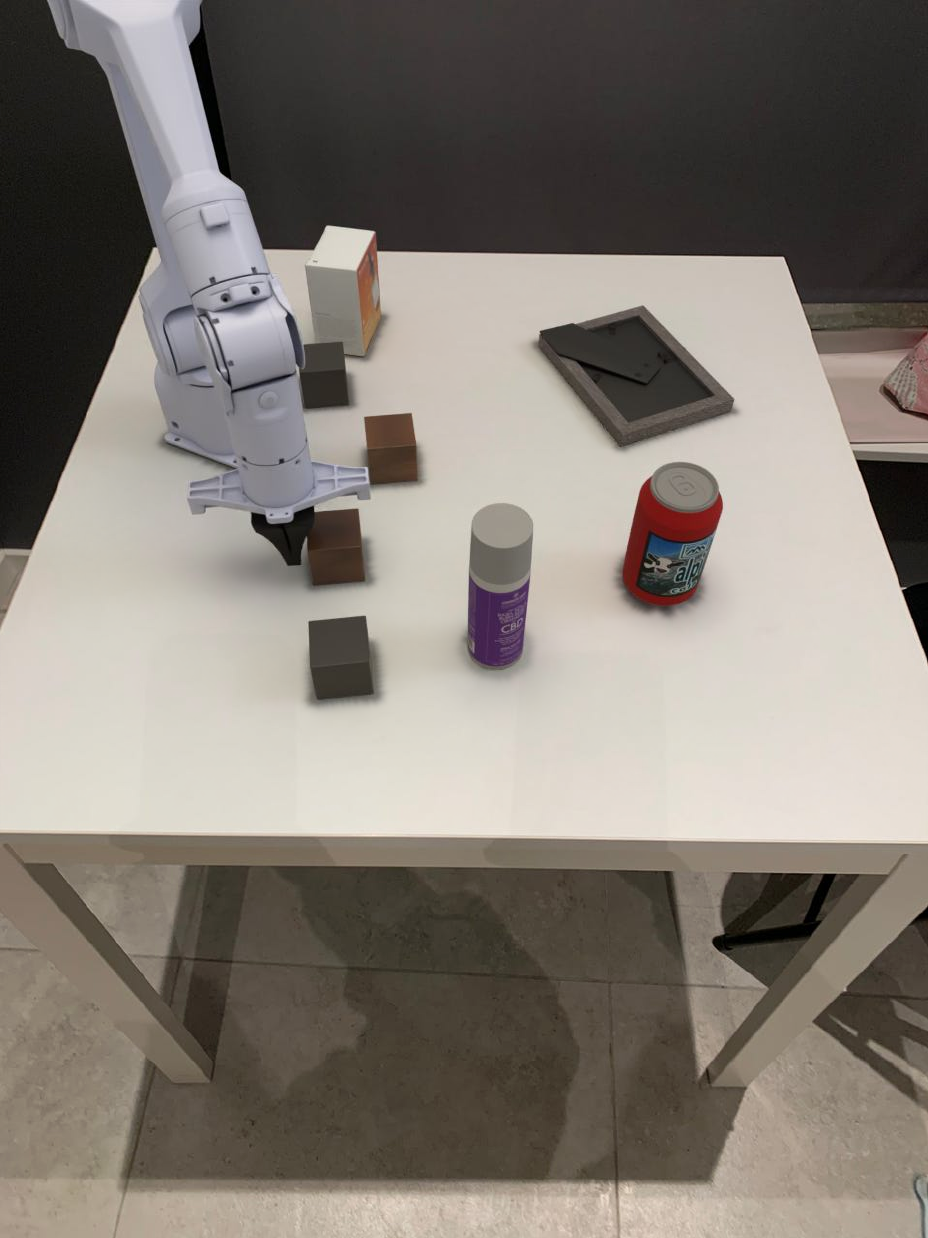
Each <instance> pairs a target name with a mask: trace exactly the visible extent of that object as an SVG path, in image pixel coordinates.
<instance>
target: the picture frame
mask: <svg viewBox="0 0 928 1238" xmlns="http://www.w3.org/2000/svg"><path fill="white" fill-rule="evenodd" d="M538 334H539V335H538V344H537V345H538V348H539V349H540V350H541V351H542V353H543V354H544V355H545V356H546V357H547V359H548V360H549V361H550V362H551V364H552V365H553V366H554V367H555V369H556V370H558V372H559V373H560V375H561V376H562V377H563V378H564V380H566V382H567V383H568V384H569V385H570V387H571V388H572V389H573V390H574V391H575V393H576V394H577V395H578V396H579V398H580V399H581V400H582V402H583V403H584V404H585V405H586V406H587V408H589V410H590V411H591V412H592V413H593V415H594V416H595V417H596V418H597V420H598V421H599V422H600V423H601V424H602V426H603V427H604V428H605V429H606V430H607V432H608V433H609V435H610V436H611V437H612V438H613V439H614V440H615V442H616V443H617V444H618V445H619V447H625V446H627V445H631V444H633V443H637V442H639V441H643V440H645V439H649V438H653V437H655V436H658V435H660V434H665V433H667V432H671V431H674V430H677V429H680V428H683V427H686V426H690V425H692V424H695V423H698V422H699V423H700V422H701V421H705V420H708V419H711V418H714V417H717V416H720V415H724V414H727V413H730V412H732V410H733V406H734V403H735V401H736V400H735V398H734V397H733V395H731V394H730V393H729V392H728V391H727V390H726V389H725V388H724V387H723V385H721V384H720V382H719V381H717V379H716V378H715V377H713V375H711V373H710V372H709V371H708V370H707V369H706V368H705V367H704V366H703V365H702V363H700V362H699V361H698V360H697V359H696V358H695V357H694V355H693V354H692V353H690V351H688V350H687V349H686V347H685V346H684V345H682V343H680V341H679V340H678V339H677V338H676V337H675V336H674V334H672V333H671V332H670V331H669V330H668V329H667V328H666V327H665V326H664V325H663V324H662V323H661V322H660V321H659V320H658V318H656V317H655V315H653V314H652V313H651V311H650V310H649V309H648V308H647V307H645V305H642V304H641V305H639V306H636V307H635V306H634V307H632V308H628V309H625V310H621V311H617V312H614V313H610V314H607V315H604V316H600V317H596V318H593V319H589V320H585V321H581V322H577V323H574V322H570V323H567V324H563V325H559V326H553V327H550V328H545V329H541V330H539V333H538Z"/></svg>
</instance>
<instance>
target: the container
mask: <svg viewBox="0 0 928 1238" xmlns="http://www.w3.org/2000/svg"><path fill="white" fill-rule="evenodd" d="M470 527H471V529H470V545H469V546H470V547H469V563H468V591H467V592H468V593H467V595H468V596H467V597H468V599H467V652H468V655H469V657H470V659H471V660H472V661H473V662H474V663H475V664H477V665H478V666H479V667H482V668H484V669H487V670H491V671H492V670H493V671H497V670H499V671H500V670H505V669H507V668H510V667H512V666H513V665H515V664H516V663H517V662H518V661H519V660H520V658H521V657H522V654H523V649H524V642H525V640H524V639H525V631H526V622H527V613H528V612H527V611H528V601H529V592H530V585H531V584H530V583H531V573H532V557H533V555H532V554H533V539H534V521H533V518H532V517H531V516H530V514H529V513H528V511H526V509H523V507H521V506H518V505H515V504H512V503H509V502H508V503H506V502H497V503H491V504H488V505H486V506H483V507H482V508H480V509H479V510H478V511H477V512H476V513H475V514H474V516H473V517H472V520H471V526H470Z"/></svg>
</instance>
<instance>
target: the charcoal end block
mask: <svg viewBox="0 0 928 1238" xmlns="http://www.w3.org/2000/svg"><path fill="white" fill-rule="evenodd" d="M303 345H304V352H305V368H304V369H300V368H299V367H298V375H299V380H300V386H301V392H302V399H303V404H304V409H312V408H313V409H314V408H325V407H326V408H327V407H337V406H339V407H340V406H349V405H350V398H349V385H348V375H347V367H346V357H345V354H344V348H343V342H330V343H316V342H315V343H303Z"/></svg>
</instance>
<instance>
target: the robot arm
mask: <svg viewBox="0 0 928 1238" xmlns="http://www.w3.org/2000/svg"><path fill="white" fill-rule="evenodd" d="M46 1H47V3H48V4H47V5H48V7H49V8H50V11H51V12H50V13H51V15H52V17H53V18H52V19H53V21H54V25H55V28H56V30H57V33H58V36H59V37H60V38H61V39H62V40H63V41H64V44H65V46H66V48H67V49H71V50H77V51H82V52H84V53H86V54H88V55H91V56H93V57H94V58H95V59H96V61H97V62H98V64H99V65H100V67H101V68H102V70H103V71H104V73H105V76H106V77H107V81H108V84H109V88H110V91H111V94H112V97H113V101H114V105H115V108H116V111H117V114H118V119H119V122H120V125H121V129H122V132H123V135H124V138H125V141H126V145H127V149H128V153H129V156H130V160H131V162H132V167H133V169H134V170H133V171H134V173H135V176H136V180H137V182H138V183H137V184H138V186H139V190H140V193H141V197H142V200H143V204H144V207H145V211H146V214H147V217H148V220H149V224H150V227H151V230H152V235H153V239H154V241H155V244H156V248H157V251H158V255H159V259H160V262H159V264H158V266H157V267H156V268H155V269H154V270H153V271H152V272H151V274H150V275H149V276H148V277H147V278H146V280H144V282H143V283H142V284H141V286H140V287H139V289H138V291H139V295H138V301H139V303H140V307H141V310H142V319H143V322H144V326H145V330H146V332H147V336H148V339H149V342H150V344H151V348H152V350H153V354H154V356H155V358H156V360H157V362H156V364H155V369H154V375H153V377H154V379H153V380H154V381H153V382H154V389H155V392H156V395H157V398H158V401H159V404H160V408H161V410H162V415H163V417H164V419H165V421H164V422H165V424H166V426H167V431H168V432H167V433H165V435H164V441H165V442H166V443H167V444H171V445H173V446H175V447H178V448H181V449H184V450H186V451H189V452H191V453H193V454H197V455H199V456H202V457H204V458H207V459H210V460H213V461H215V462H218V463H220V464H224V465H227V466H229V467H230V468H231V467H232V468H234V469H232V470H229V471H226V472H222V473H219V474H217V475H213V476H210V477H207V478H203V479H197V480H189V481H188V482H187V489H186V490H187V492H186V500H187V502H188V506H189V509H190V513H191V515H193V516H194V515H203V514H206V512H207V509H211V508H226V509H231V510H235V511H237V510H238V511H243V512H247V513H248V512H249V513H250V524H251V526H252V529H253V530H254V532H255V533H256V534H258V535H260V536H262V537H263V538H264V539H266V540H267V541H268V542H269V543H271V545H272V546H274V548H275V549H276V550H277V552H278V553H279V554H280V555H281V557H282V559H283V561H284V562H285V564H286V566H287V567H295V566H301V565H302V554H303V553H302V552H303V547H304V544H305V542H306V540H307V535H308V533H309V531H310V530H311V529H312V527H313V524H314V520H315V512H316V509H315V506H316V505H317V506H318V505H319V504H322V503H326V502H328V501H331V500H334V499H337V498H341V497H353V496H356V498H357V500H358V501H370V500H371V499H372V497H371V484H370V474H369V466H346V465H341V464H333V463H328V462H321V461H317V460H312V457H311V450H310V446H309V445H310V444H309V439H308V433H307V426H306V421H305V413H304V408H303V401H302V395H301V390H300V384H299V383H300V382H299V377H298V372H297V368H298V369H299V368H300V369H304V368H305V352H304V345H303V344H304V340H303V335H302V331H301V328H300V325H299V322H298V319H297V316H296V314H295V311H294V309H293V307H292V305H291V303H290V300H289V299H288V296H287V294H286V292H285V291H284V289H283V285H282V284H281V281H280V278H279V276H278V274H277V273H271V269H270V266H269V264H268V260H267V257H266V254H265V251H264V248H263V244H262V242H261V239H260V235H259V233H258V229H257V227H256V224H255V221H254V218H253V214H252V212H251V208H250V204H249V203H248V199H247V196H246V193H245V191H244V190H243V188H241V187H240V186H239V185H238V184H236V183H235V182H233V180H230V178H228V177H226V176H225V175H224V174H222V173H221V171H220V169H219V164H218V160H217V157H216V152H215V148H214V144H213V141H212V136H211V132H210V128H209V124H208V119H207V116H206V111H205V109H204V103H203V100H202V95H201V91H200V87H199V83H198V80H197V75H196V72H195V67H194V64H193V60H192V55H191V51H190V48H189V46H190V45H191V43H193V41H194V40H195V38H196V37H197V36H198V34H199V32H200V29H201V13H200V12H201V11H200V7H201V4H202V3H203V0H46Z"/></svg>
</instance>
